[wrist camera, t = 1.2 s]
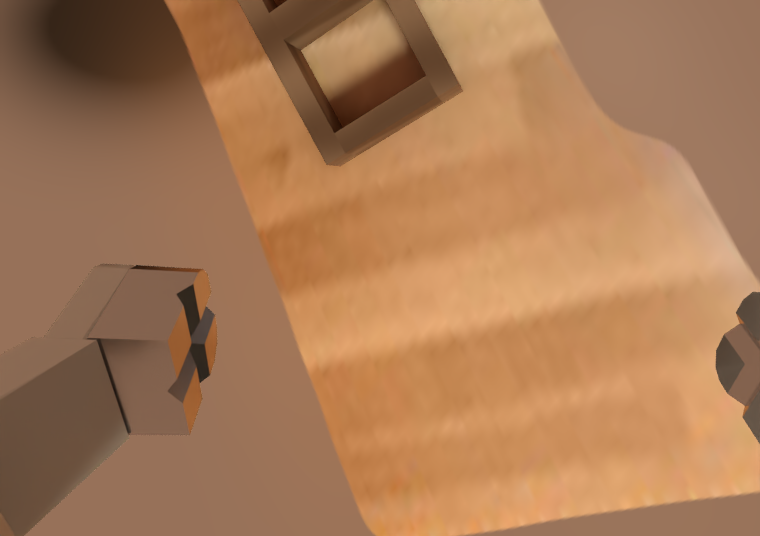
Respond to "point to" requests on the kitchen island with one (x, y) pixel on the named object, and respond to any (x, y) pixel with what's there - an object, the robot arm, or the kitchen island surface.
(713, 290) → the kitchen island surface
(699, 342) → the kitchen island surface
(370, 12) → the kitchen island surface
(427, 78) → the rail
